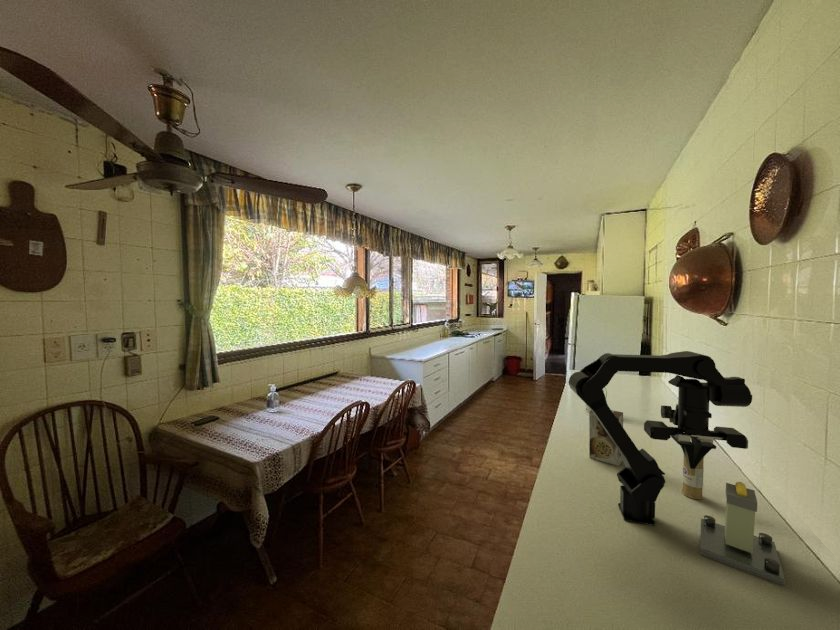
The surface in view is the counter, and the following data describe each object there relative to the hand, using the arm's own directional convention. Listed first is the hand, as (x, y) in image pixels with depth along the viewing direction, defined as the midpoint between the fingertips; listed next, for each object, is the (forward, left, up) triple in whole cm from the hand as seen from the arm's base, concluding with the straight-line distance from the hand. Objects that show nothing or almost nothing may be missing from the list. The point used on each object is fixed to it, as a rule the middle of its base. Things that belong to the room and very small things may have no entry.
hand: (691, 468), depth 80 cm
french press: (-8, +75, -13) cm, 77 cm away
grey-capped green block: (+5, -9, -11) cm, 15 cm away
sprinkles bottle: (+5, +12, -13) cm, 19 cm away
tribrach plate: (+5, -9, -13) cm, 17 cm away
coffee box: (-13, +28, -13) cm, 34 cm away
